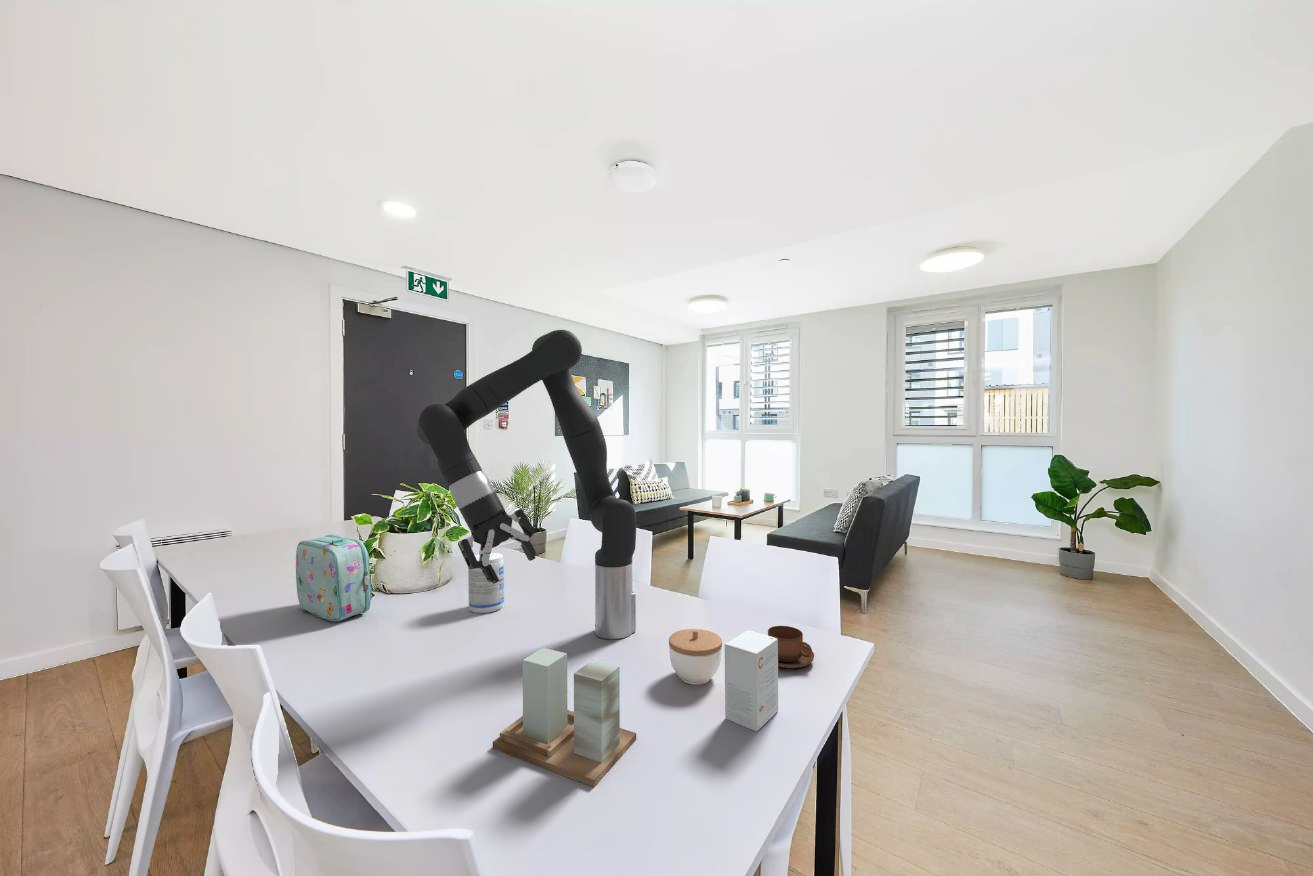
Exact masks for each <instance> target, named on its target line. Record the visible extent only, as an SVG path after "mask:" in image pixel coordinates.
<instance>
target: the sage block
mask: <svg viewBox="0 0 1313 876" xmlns="http://www.w3.org/2000/svg"><path fill="white" fill-rule="evenodd" d="M567 710H568V653H566V652H563V651H559V650H555V649H554V650H553V649H549V648H547V647H546V648H545V647H542V648H540V649H539V650H537V651H535V652H533V653H532V654H530V655H528V656H527V657H525V658H524V659H522V716H523V735H525V736H528V737H530V738H533V739H536V740H539V741H542V742H545V743H547V744H548V743H549V742H550V741H551V740H553V739H554V738H555V737H556V736H557V735H558V734H559V733H561V732H562V731H563V730H564V729H565V728H566V727H568V718H567Z"/></svg>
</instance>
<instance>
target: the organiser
mask: <svg viewBox="0 0 1313 876" xmlns="http://www.w3.org/2000/svg"><path fill="white" fill-rule="evenodd" d="M620 668H621V667H620V666H619V665H615V664H611V663H607V662H604V661H599V660H595V659H592V660H590V661H589V662H588V663H586V664H584V665H583V666H582V667H581V668H579V669H577V670H576V671H575V672H574V673H573V711H572V710H569V709H567V718H568V727H566V728H565V729H564V730H563V731H562V732H561V733H559V734H558V735H557V736H556V737H555V738H554V739H553V740H551V741H550V742H549V743H548V744H547V743H545V742H542V741H539V740H536V739H533V738H530V737H528V736H525V735H523V715H521V716H520V717H519V718H518V719H516V720H515V721H513V723H511V724H509V725H508V726H506V728H504V729H503V730H502V731H500V732H499V736H498V737H497V738H496V739H494V740H493V741H492V749H494V750H496V751H498V752H499V751H500V752H501V753H504V754H507V755H509V756H512V757H513V758H514V757H515V758H516V759H520V760H521V761H525V762H527V763H530V764H533V765H535V766H538V767H541V768H543V769H546V770H548V771H551V772H553V773H556V774H559V775H561V776H564V777H567V778H569V779H572V780H574V781H577V782H580V783H582V784H584V785H587V786H589V787H592V788H595V787H596V786H597V785H598V784H599V783H600V781H602V779H603V778H604V777H605V776H606V775H607V773H609V771H610V770H611V769H612V768H613V767H614V765H616V763H617V762H618V761H619V760H620V759H621V758H622V756H623V755H624V754H625V753H626V752H627V751H628V750H629V749H630V747H631V746H632V745H633V744H634V743H635V741H636V740H637V732H634V731H631V730H627V729H624V728H621V725H620V724H621V723H620V722H621V719H620V717H621V716H620V714H621V712H620V711H621V709H620V708H621V707H620V705H621V704H620V699H621V698H620V697H621V695H620V694H621V693H620V691H621V690H620V689H621V687H620V685H621V683H620V682H621V681H620V679H621V678H620V674H621V673H620V672H621V671H620Z"/></svg>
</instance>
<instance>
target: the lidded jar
mask: <svg viewBox="0 0 1313 876" xmlns="http://www.w3.org/2000/svg"><path fill="white" fill-rule="evenodd" d="M668 645H669V646H668V648H669V649H668V650H669V659H670V663H671V667H672V669H673V670H674V672H675V674H676V675H677V676H678V677H679V678H680V680H681V681H682V682H684V683H685V684H687V685H694V686H695V685H696V686H699V685H704V684H707V683H709V682H710V681H711V679H712V678H713V677H714V676H715V675H716V673H717V672H718V670H719V668H720V664H721V661H722V647H723V639H722V637H721V636H720V635H719V634H717V633H715V632H714V631H710V630H707V629H701V628H686V629H680V630H677V631H675V632H673V633H671V635H670V636H669V637H668Z"/></svg>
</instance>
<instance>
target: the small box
mask: <svg viewBox="0 0 1313 876" xmlns="http://www.w3.org/2000/svg"><path fill="white" fill-rule="evenodd" d="M724 712H725V715H724V716H725V719H726V720H729V721H731V722H733V723H735V724H737V725H740V726H742V727H744V728H747V729H749V730H751V731H754V732H758V731H759V730H760V729H761V728H762V727H763V726H764V725H765V724H766V723H767V722H769V720H770V719H772V717H774V716H775V715H776V714H777V713H778V712H779V667H778V639H777V638H774V637H771V636H768V634H763V633H761V632H756V631H753V630H749V629H747V630H745V631H743V632H741V633H740V634H738V635H737V636H735V637H734V638H732V639H730V640H729V641H727V642H726V643H724Z"/></svg>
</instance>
